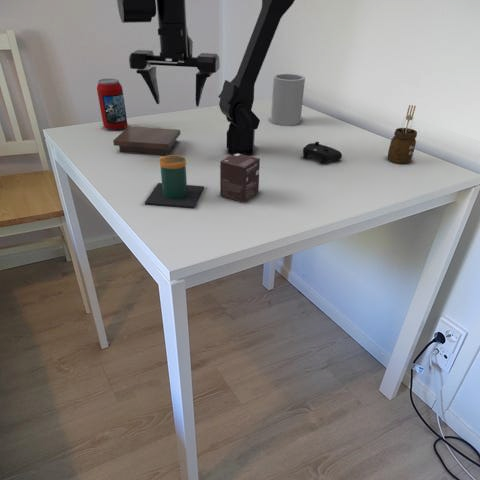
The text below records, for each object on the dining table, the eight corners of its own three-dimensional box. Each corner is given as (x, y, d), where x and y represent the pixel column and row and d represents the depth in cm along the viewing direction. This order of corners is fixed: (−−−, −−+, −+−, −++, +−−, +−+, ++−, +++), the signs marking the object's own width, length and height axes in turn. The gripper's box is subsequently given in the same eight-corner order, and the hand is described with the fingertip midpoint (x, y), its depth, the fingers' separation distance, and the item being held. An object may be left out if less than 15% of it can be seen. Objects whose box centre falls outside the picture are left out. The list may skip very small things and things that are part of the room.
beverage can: (114, 132, 119) (106, 84, 111) (98, 127, 122) (90, 80, 114) (132, 127, 123) (126, 80, 115) (117, 122, 126) (110, 76, 118)
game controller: (344, 155, 106) (338, 142, 101) (333, 174, 106) (326, 162, 101) (312, 146, 111) (305, 132, 105) (302, 164, 111) (294, 151, 106)
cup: (268, 117, 134) (271, 73, 126) (296, 116, 135) (301, 73, 127) (273, 125, 127) (276, 80, 119) (303, 125, 128) (308, 80, 120)
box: (244, 203, 86) (245, 167, 81) (219, 196, 88) (219, 160, 84) (259, 193, 90) (261, 158, 85) (235, 186, 92) (235, 152, 88)
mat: (203, 188, 91) (203, 186, 91) (194, 208, 84) (193, 206, 83) (158, 184, 92) (158, 182, 92) (144, 204, 85) (144, 202, 84)
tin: (190, 189, 89) (188, 156, 85) (184, 200, 86) (182, 165, 81) (166, 188, 90) (163, 154, 85) (159, 198, 86) (155, 163, 81)
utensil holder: (386, 162, 106) (398, 110, 98) (387, 154, 110) (399, 103, 102) (410, 165, 104) (425, 113, 97) (411, 157, 109) (425, 106, 101)
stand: (180, 141, 114) (180, 129, 112) (169, 156, 105) (168, 144, 103) (130, 137, 115) (128, 126, 114) (114, 152, 106) (112, 140, 104)
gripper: (223, 19, 92) (223, 98, 102) (140, 16, 94) (148, 94, 104) (214, 25, 84) (215, 110, 94) (123, 21, 85) (134, 106, 96)
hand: (177, 104), depth 97 cm, fingers open, 9 cm apart
